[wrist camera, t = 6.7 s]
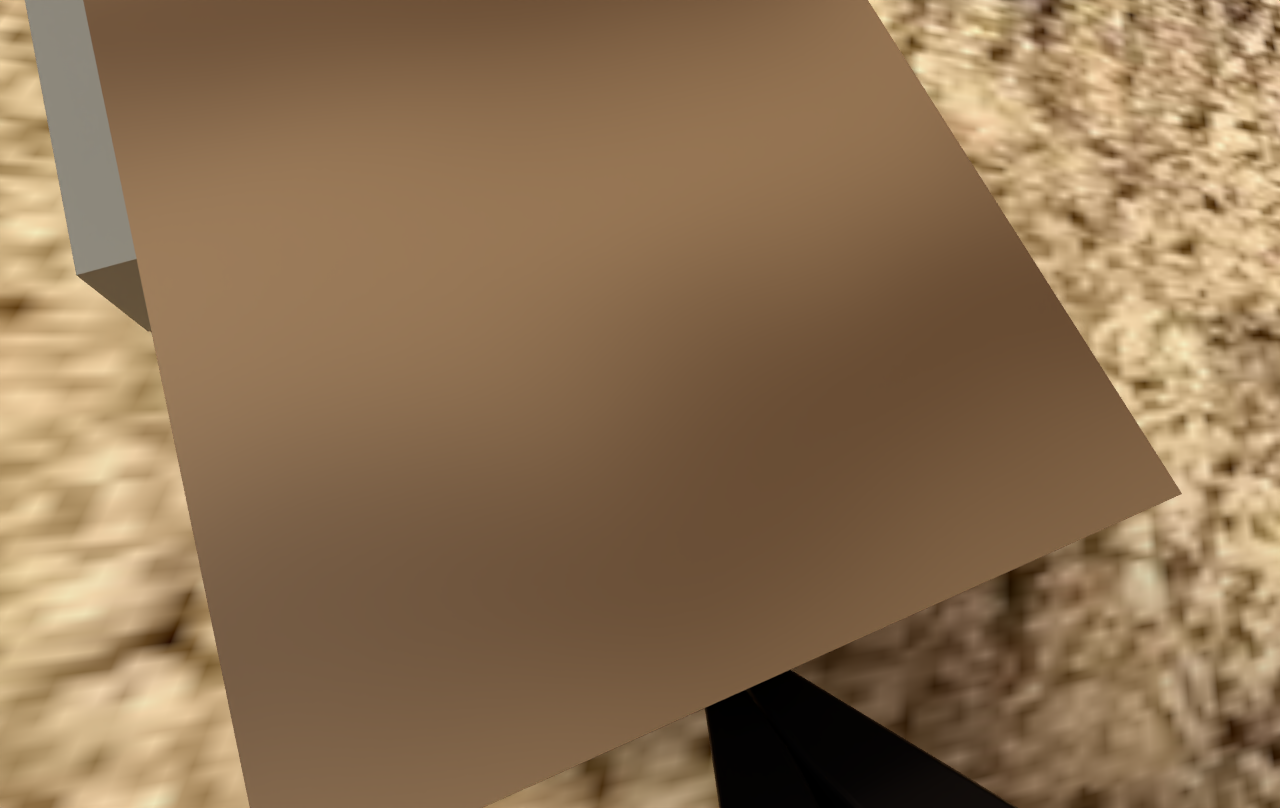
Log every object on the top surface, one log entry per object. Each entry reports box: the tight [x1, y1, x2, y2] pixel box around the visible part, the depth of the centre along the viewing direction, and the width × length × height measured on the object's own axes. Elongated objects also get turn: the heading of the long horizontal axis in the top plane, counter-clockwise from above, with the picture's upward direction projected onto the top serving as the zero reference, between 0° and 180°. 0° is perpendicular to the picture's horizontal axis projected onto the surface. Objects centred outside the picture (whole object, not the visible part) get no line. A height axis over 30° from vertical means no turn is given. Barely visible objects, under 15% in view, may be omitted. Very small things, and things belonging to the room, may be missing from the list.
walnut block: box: [83, 0, 1182, 808], centre depth 13 cm, size 16×9×9 cm, turn 22°
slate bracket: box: [25, 0, 151, 331], centre depth 18 cm, size 10×16×2 cm, turn 112°
